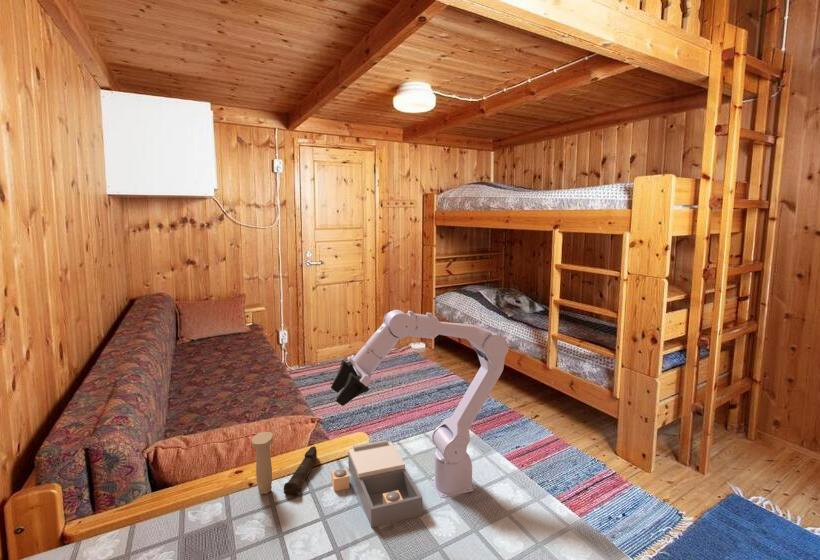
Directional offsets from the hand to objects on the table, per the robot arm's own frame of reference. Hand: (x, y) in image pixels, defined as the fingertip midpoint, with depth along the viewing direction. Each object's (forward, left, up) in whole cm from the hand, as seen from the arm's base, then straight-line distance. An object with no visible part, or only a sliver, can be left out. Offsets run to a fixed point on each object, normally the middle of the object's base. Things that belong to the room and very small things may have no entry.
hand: (336, 396), depth 102 cm
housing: (-12, -3, -29) cm, 32 cm away
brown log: (+7, -18, -30) cm, 35 cm away
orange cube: (-2, -9, -29) cm, 31 cm away
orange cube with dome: (-12, +6, -29) cm, 32 cm away
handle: (+17, -14, -29) cm, 37 cm away
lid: (-12, -9, -24) cm, 28 cm away
